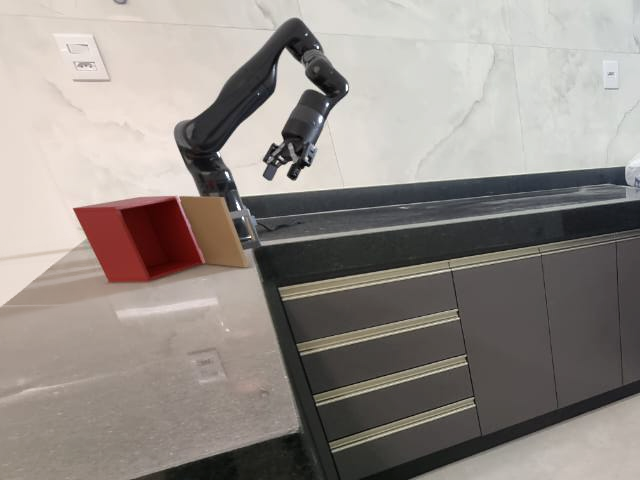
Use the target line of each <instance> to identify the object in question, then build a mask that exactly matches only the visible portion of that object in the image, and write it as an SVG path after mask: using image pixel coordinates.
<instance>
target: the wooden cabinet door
mask: <svg viewBox="0 0 640 480" xmlns="http://www.w3.org/2000/svg"><path fill="white" fill-rule="evenodd" d="M178 198H179V200H180V203H181V205H182V207H183V210H184V212H185V215H186V217H187V220H188V222H189V224H190V227H191V230H192V232H193V235H194V237H195V239H196V242H197V244H198V247H199V249H200V252H201V254H202V257H203V259H204V262H205V264H208V265H218V266H228V267H236V268H244V269H245V268H249V267H250V264H249V261H248V259H247V256H246V253H245V251H247V250H250V249H256V248H259V247H262V243H261V239H260V237H259V234H258V231H257V229H256V226H255V225H254V223H253V220H252V217H251V216H252V214H251V212H250V209H249V208H247V209H241V210H235V211H229V210H228V207H227V205H226V202H225V199H224V197H203V196H200V195H199V196H197V195H194V196H193V195H180V196H179V195H178ZM241 217H244V220H245V223H246V226H247V229H248V231H249V234H250V237H251V239H250V240H245V241H240V240H239V237H238V234H237V232H236V229H235V226H234V224H233V221H232V219H236V218H241Z"/></svg>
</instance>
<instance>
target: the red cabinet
mask: <svg viewBox="0 0 640 480" xmlns="http://www.w3.org/2000/svg"><path fill="white" fill-rule="evenodd" d="M72 210H73V213H74V214H75V217H76V219H77V221H78V222H79V225H80V226H81V228H82V231H83V232H84V235H85V237H86V238H87V240H88V243H89V245H90V248H91V249H92V251H93V254H94V255H95V257H96V259H97V261H98V263H99V265H100V267H101V269H102V271H103V273H104V275H105V277H106V279H107V281H108V283H138V282H139V283H142V282H144V283H145V282H151V281H155V280H157V279H161V278H164V277H167V276H170V275H173V274H177V273H179V272H183V271H186V270H188V269H192V268H195V267H198V266H201V265H204V264H206V262H205V260H204V257H203V255H202V252H201V250H200V248H199V245H198V243H197V240H196V238H195V235H194V233H193V230H192V228H191V225H189V224H190V223H189V220H188V218H187V215H186V213H185V211H184V208H183V206H182V203H181V201H180V198H179V195H157V196H156V195H155V196H154V195H153V196H138V197H130V198H125V199H119V200H113V201H108V202H101V203H95V204H89V205H83V206H77V207H76V206H75V207H72Z"/></svg>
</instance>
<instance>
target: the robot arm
mask: <svg viewBox="0 0 640 480" xmlns="http://www.w3.org/2000/svg"><path fill="white" fill-rule="evenodd" d="M285 50H286V51H287V52H288V54H290V55H291V57H292V58H293V59H294V60H295V61H297V62H298V63H299V64H301V65H302V67H303V68H304V75H305V77H306V78H307V79H308V81H309V82H311V84H313V85H314V86H315V87H316V88H318V90H320V91H321V92H320V91H318V90H316V89H312V88H307V89H305V90H304V91H302V93H301V95H300V97H299V99H298V102H297V103H296V105H295V107H294V108H293V109H292V111H291V112H290V114H289V116H288V118H287V119H286V122H285V124H284V126H283V127H282V129H281V132H280V133H281V137H282V140H283V141H282V142H281V143H280V144H279V145H278V144H276V143H275V142H273V143H271V145H270V146H269V148H268V150H267V152H265V155H264V157H263V158H262V162H263V163H265V165H266V167H265V169H264V171H263V173H262V177H263V178H264V179H265V180H267V181H268V182H270V181H273V180H274V178H275V176H276V174H277V171H278V169H279V168H280V167H281V166H285V165H287V164H288V163H289V162H292V163H291V165H290V167H289V168H288V171H287V173H286V177H287V178H288V179H289V180H290V181H293V182H294V181H297V179H298V178H299V176H300V174H301V172H302V170H304V169H305V168H306V167H307V168H310V167H311V166H312V164H313V161H314V160H315V157H316V154H317V152H318V150H319V149H318V148H317V147H316V144H317V143H318V141H319V138H320V137H321V134H322V132H323V130H324V126H325V124H326V121H327V119H328V117H329V115H330V113H331V111H332V110H333V108H335V106H336V105H338V103H340V102H341V100H343V99H344V98H346V97H347V95H348V94H349V92H350V84H349V80H347V78H345V77H344V75H342V74H341V72H339V70H337V69H336V68H335V67H334V65H333V63H332V62H331V61H330V59H329V58H328V57H327V55H326V54H325V51H324V48H323V46H322V44H321V42H320V41H319V39H318V38H317V37H316V36H315V34H314V33H313V32H312V31H311V29H310V28H309V27H308V26H307V24H306V23H305V22H304V21H303V20H302V19H300V18H299V17H291V18H289V19H287V20H285V21H284V22H283V23H281V24H280V25H279V26H278V28H276V30H275V31H274V32H273V33H272V34H271V36H270V37H269V38H267V40H266V41H265V42H264V44H263V45H261V47H260V48H259V49H258V51H256V53H254V54H253V55H252V56H251V57H250V58H249V59H248V60H247V61H246V62H245V63H243V64H242V65H241V66H240V67H239V68H238V69H236V70H235V71H234V72H233V73H232V74H231V75H230V77H228V79H226V81H225V83H224V84H223V85H222V87H221V88H220V91H219V93H218V95H217V97H216V99H215V100H214V101H213V102H212V103H211V104H210V105H209V106H208V107H206V109H205V110H203V111H202V112H201V113H199V114H197V116H195V117H194V118H189V119H183V120H180V121H178V122H177V124H176V125H174V128H173V137H174V141H175V144H176V147H177V149H178V151H179V153H180V157H181V159H182V161H183V163H184V165H185V167H186V170H187V171H188V172H189V174H190V175H191V177H192V180H193V183H194V185H195V187H196V190H197V192H198V195H199V196H203V197H224V199H225V202H226V205H227V207H228V210H229V211H235V210H241V209H248V208H247V205H246V204H243V201H242V198H241V196H240V193H239V189H238V187H237V184H236V181H235V179H234V176H233V172H232V170H231V169H230V168H229V167H228V166H227V164H226V163H225V162H224V159H223V157H222V155H221V152H220V151H221V150H222V148H223V147H224V146H225V145H226V143H227V142H228V141H229V140H230V138H231V136H232V135H233V134H234V132H236V130H237V129H238V127H240V125H241V124H242V123H243V122H244V121H246V120H247V119H248V118H250V117H251V116H252V115H253V114H254V113H255V112H256V111H257V110H258V109H260V108H261V107H263V105H264V104H265V103H266V102H267V101H268V100H269V99H270V98H271V97H272V96H273V95H274V93H275V91H276V89H277V84H278V83H277V82H278V71H279V70H278V69H279V61H280V58H281V55H282V54H283V53H284V51H285ZM306 158H307V159H306ZM251 217H252V220H253V223H254V225H255V227H256V226H258V225H259V226H262V227H263V228H264V229H266V230H267V231H270V232H272V231H274V230H275V229H279V228H287V227H292V226H294V225H295V224H296V223H298V224H300V225H301V224H303V222H302V221H301V220H300V219H297V218H296V219H294V220H292V221H291V222H289V223H283V224H276V225H273V226H271V227H269V226H268V225H267V224H266V223H264V222H262V221H259V220H257V219H256V217H255V215H251ZM232 221H233V224H234V226H235V229H236V232H237V234H238V237H239V240H240V242H245V241H250V240H251V237H250V234H249V231H248V229H247V226H246V223H245V220H244V217H241V218H236V219H232Z"/></svg>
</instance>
